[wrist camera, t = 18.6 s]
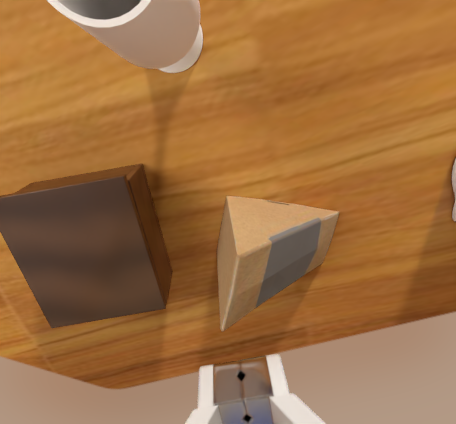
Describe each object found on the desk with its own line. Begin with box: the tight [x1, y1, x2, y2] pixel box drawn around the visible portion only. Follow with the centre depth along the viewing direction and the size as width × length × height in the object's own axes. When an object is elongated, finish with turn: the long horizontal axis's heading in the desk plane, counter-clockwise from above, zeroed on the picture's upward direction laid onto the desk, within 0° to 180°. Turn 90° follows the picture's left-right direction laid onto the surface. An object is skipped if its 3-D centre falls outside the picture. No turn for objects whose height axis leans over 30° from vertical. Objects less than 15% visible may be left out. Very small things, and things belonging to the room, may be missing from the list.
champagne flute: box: [47, 0, 203, 73], centre depth 21 cm, size 7×7×24 cm
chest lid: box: [0, 174, 166, 328], centre depth 33 cm, size 16×14×1 cm
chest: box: [15, 164, 172, 303], centre depth 37 cm, size 16×14×7 cm
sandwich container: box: [217, 196, 339, 331], centre depth 35 cm, size 9×15×15 cm, turn 80°
